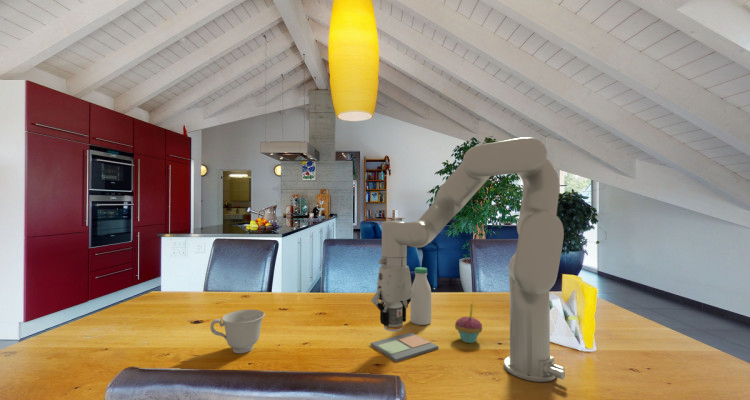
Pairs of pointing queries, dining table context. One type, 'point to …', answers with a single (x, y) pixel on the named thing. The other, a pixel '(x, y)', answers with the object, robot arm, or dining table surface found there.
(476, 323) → the cupcake
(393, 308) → the pill bottle
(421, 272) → the milk bottle
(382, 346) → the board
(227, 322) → the teacup
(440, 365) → the dining table surface
